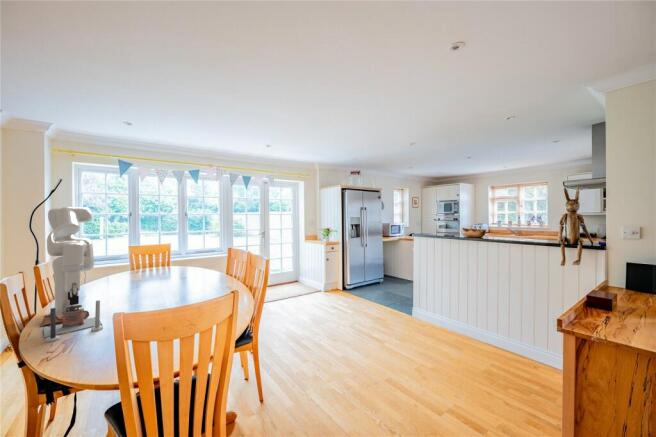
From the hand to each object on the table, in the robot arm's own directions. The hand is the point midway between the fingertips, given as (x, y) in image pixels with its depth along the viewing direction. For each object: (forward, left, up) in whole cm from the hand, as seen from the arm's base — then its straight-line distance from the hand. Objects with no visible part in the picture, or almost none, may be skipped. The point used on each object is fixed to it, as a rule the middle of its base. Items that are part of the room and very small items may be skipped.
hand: (73, 301), depth 134 cm
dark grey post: (+13, -7, -12) cm, 19 cm away
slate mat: (+1, 0, -12) cm, 12 cm away
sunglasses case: (-12, -2, -13) cm, 18 cm away
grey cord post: (+13, +8, -12) cm, 19 cm away
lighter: (+1, 0, -12) cm, 12 cm away
